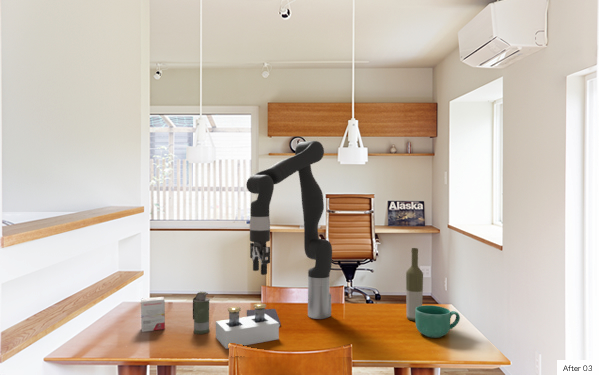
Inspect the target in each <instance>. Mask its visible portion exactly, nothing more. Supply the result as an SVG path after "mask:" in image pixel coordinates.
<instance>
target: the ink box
mask: <svg viewBox="0 0 599 375" xmlns="http://www.w3.org/2000/svg"><path fill="white" fill-rule="evenodd" d="M140 300H141V301H140V304H141V305H140V311H141V312H140V314H141V316H140V318H141V319H140V320H141V322H140V323H141V333H145V332H153V331H161V330H165V329H166V322H165V320H166V316H165V314H166V313H165V312H166V311H165V310H166V309H165V308H166V306H165V305H166V304H165V297H164V296H159V297H158V296H157V297H145V298H141V299H140Z"/></svg>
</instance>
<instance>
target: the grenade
mask: <svg viewBox="0 0 599 375" xmlns="http://www.w3.org/2000/svg"><path fill="white" fill-rule="evenodd" d="M208 295H209V293H208V292H206V291H198V292H197V293H196V295H195V296H194V297H193V298H192V320H193V333H194V334H197V335H203V334H207V333H210V298H209V297H207V296H208Z"/></svg>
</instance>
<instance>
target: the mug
mask: <svg viewBox="0 0 599 375" xmlns="http://www.w3.org/2000/svg"><path fill="white" fill-rule="evenodd" d="M453 315H455V319H454V321H453V322H452V323H451V318H452V316H453ZM460 320H461V316H460V314H459V313H458V312H457V311H456V310H453V311H452V310H449V308H445V307H444V306H439V305H430V304H429V305H428V304H427V305H426V304H424V305H422V306H418V307H416V310H415V321H414V322H415V327H416V329H417V331H418V332H419V333H421V334H422V335H423V336H425V337H427V338H432V339H433V338H434V339H436V338H442V337H443V336H446V335H447V334H448V333H449V332H450V331H451V330H452V329H453V328H455V327H456V326H457V325H459V323H460Z"/></svg>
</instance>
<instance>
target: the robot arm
mask: <svg viewBox="0 0 599 375" xmlns="http://www.w3.org/2000/svg"><path fill="white" fill-rule="evenodd" d="M294 149H295V150H294V151H295V152H294V155H293V156H289V157H286V158H285V159H282V160H279V161H278V162H276V163H274V164H273V165H271V166H270V167H268V168H266V169H264V170H261V171H258V172H256V173H253V174H252V175H251V176H249V178H248V179H247V180H246V189H247V191H248V192H250V193H251V194H253V195H255V194H256V195H257V198H256V199H255V200H253V201H251V202H250V220H249V241H250V246H249V257H250V259H251V261H252V270H253V271H254V272H257V271H258V272H259V271H260V275H262V276H265V275H266V276H267V274H268V264H271V246H267V243H268V242H270V241H271V220H270V204H271V202H272V198H273V194H274V189H275V188H274V186H275V185H277V184H279V183H281V182H283V181H284V180H286V179H288V178H289V177H291V175H293V174H295V173H296V172H298V176H299V184H300V193H301V194H300V195H301V205H302V207H301V208H302V213H303V216H302V218H303V227H304V229H303V230H304V231H303V233H304V234H303V240H304V241H303V244H304V245H303V246H304V254H305V256H306V257H307V258H309V259H310V260H314V261H315V264H314V266H313V267H311V268H309V269H308V270H307V271H308V272H307V274H308V275H307V316H308V317H309V318H311V319H316V320H323V319H327V318H329V317H331V316H332V294H331V293H330V274H331V270H332V260H333V247H332V244H331V242H330V241H329V240H328V239H324V238H320V237H319V229H318V228H319V224H320V220H321V218H322V217H323V216H322V215H323V213H324V211H325V210H324V208H325V203H324V194H323V191H322V189H321V187H320V185H319V183H318V182H317V181H316V178H315V177H314V175H313V171H312V166H311V165H313V164H315V163H318V162H320V161H321V160H322V159H323V158H324V154H325V148H324V146H323V144H322V143H321V142H320V141H318V140H309V141H308V140H307V141H301V142H298V143H297V144H296V146H295V148H294Z"/></svg>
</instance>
